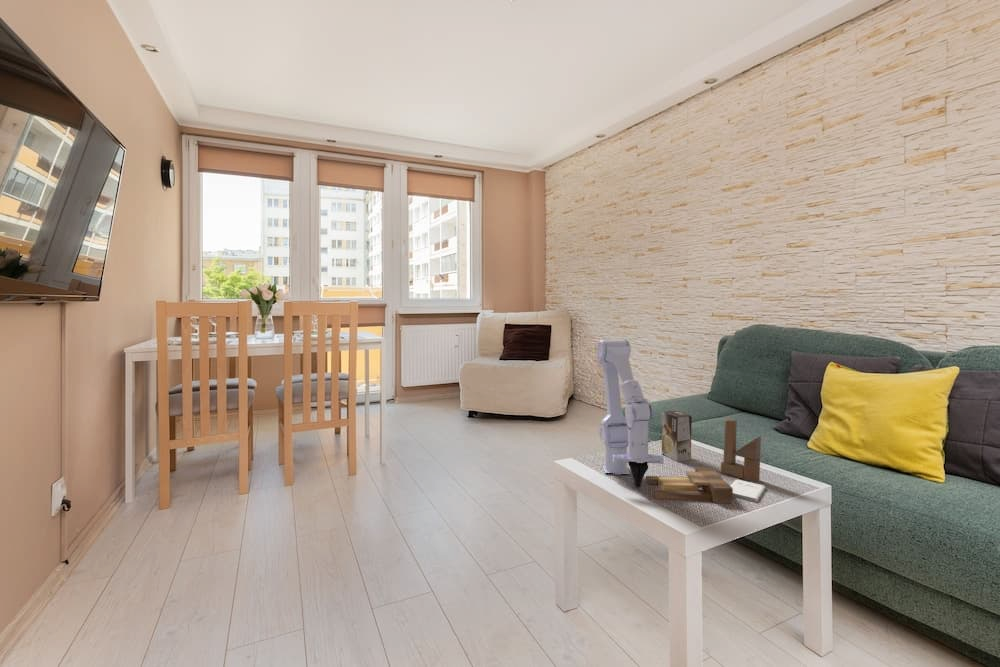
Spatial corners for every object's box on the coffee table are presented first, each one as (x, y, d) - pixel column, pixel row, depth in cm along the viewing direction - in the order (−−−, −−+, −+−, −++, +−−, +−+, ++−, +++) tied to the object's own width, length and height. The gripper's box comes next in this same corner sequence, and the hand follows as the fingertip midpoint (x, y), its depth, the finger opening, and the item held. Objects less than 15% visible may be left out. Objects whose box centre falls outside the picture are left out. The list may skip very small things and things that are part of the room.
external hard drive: (725, 496, 134) (735, 483, 144) (756, 504, 129) (765, 490, 139) (725, 491, 134) (735, 478, 144) (756, 498, 129) (765, 485, 139)
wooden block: (755, 483, 143) (756, 426, 142) (720, 473, 151) (721, 419, 150) (759, 480, 145) (761, 424, 144) (725, 470, 153) (727, 417, 152)
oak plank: (658, 486, 141) (658, 476, 141) (691, 487, 141) (691, 477, 140) (663, 494, 136) (663, 484, 135) (698, 495, 135) (698, 485, 135)
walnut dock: (644, 479, 146) (644, 466, 146) (711, 481, 144) (711, 468, 144) (656, 500, 130) (657, 485, 130) (732, 503, 128) (732, 488, 128)
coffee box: (692, 460, 164) (693, 415, 163) (677, 461, 162) (677, 417, 161) (675, 452, 173) (675, 410, 172) (660, 453, 171) (661, 411, 170)
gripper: (615, 445, 134) (615, 490, 135) (666, 446, 133) (665, 492, 134) (611, 438, 141) (611, 481, 142) (660, 439, 140) (659, 482, 141)
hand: (637, 486), depth 139 cm, fingers closed
